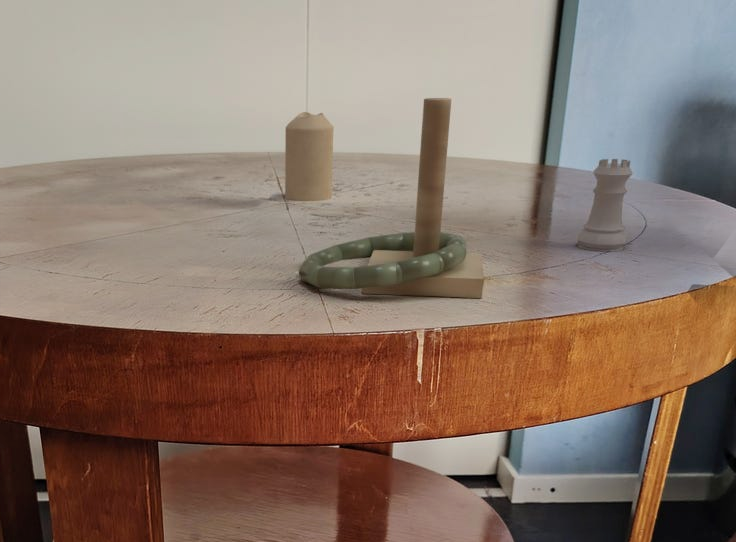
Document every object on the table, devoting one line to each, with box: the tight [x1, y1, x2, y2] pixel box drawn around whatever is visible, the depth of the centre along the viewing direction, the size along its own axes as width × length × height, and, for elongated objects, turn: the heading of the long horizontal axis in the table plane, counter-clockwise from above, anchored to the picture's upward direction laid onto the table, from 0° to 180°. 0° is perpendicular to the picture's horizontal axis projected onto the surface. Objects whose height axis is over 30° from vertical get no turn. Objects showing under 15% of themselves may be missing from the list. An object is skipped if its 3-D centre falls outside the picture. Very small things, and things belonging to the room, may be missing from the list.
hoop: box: [298, 231, 467, 290], centre depth 72 cm, size 13×13×2 cm
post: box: [362, 97, 485, 299], centre depth 69 cm, size 9×9×14 cm
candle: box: [284, 111, 334, 202], centre depth 105 cm, size 6×6×10 cm
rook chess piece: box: [576, 158, 634, 252], centre depth 79 cm, size 4×4×8 cm
